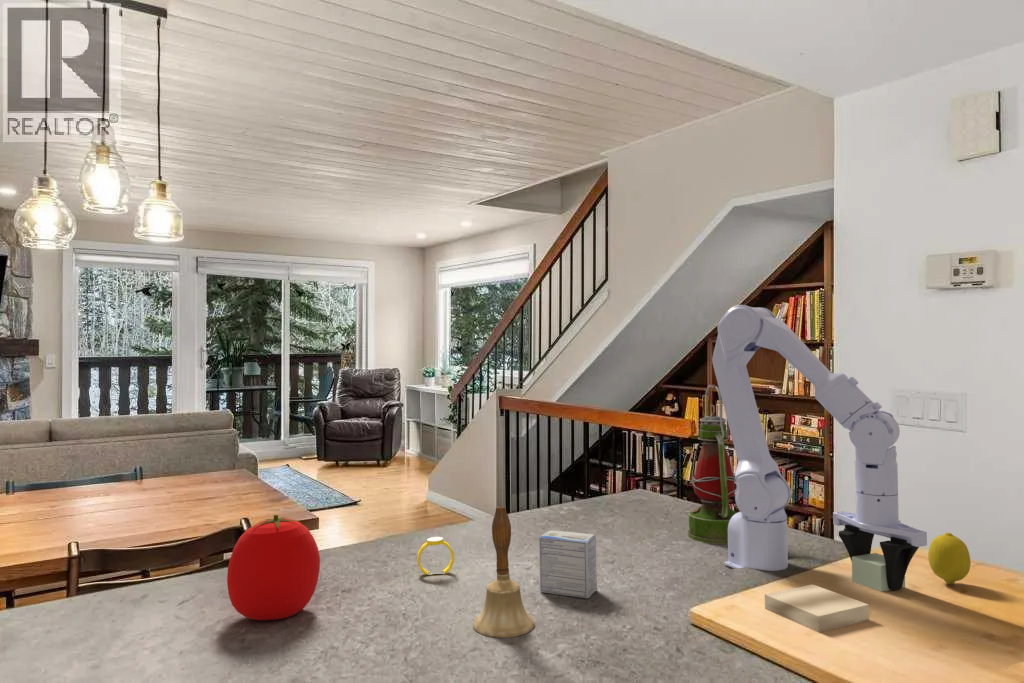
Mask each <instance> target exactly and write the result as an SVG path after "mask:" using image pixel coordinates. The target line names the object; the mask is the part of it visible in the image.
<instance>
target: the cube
mask: <svg viewBox="0 0 1024 683" xmlns="http://www.w3.org/2000/svg"><path fill="white" fill-rule="evenodd" d="M851 577H852V578H851V580H852V583H855V584H859V585H860V586H863V587H867V588H870V589H872V590H875V591H878V592H881V593H882V592H887V591H891V590H890V589H888V584H887V575H886V564H885V559H884V555H883V554H880V553H877V552H873V553H872V552H871V553H870V554H866V555H860V556H854V557H852V561H851ZM903 588H904V589H906V576H905V577H904V581H903V585H902V589H903Z"/></svg>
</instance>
